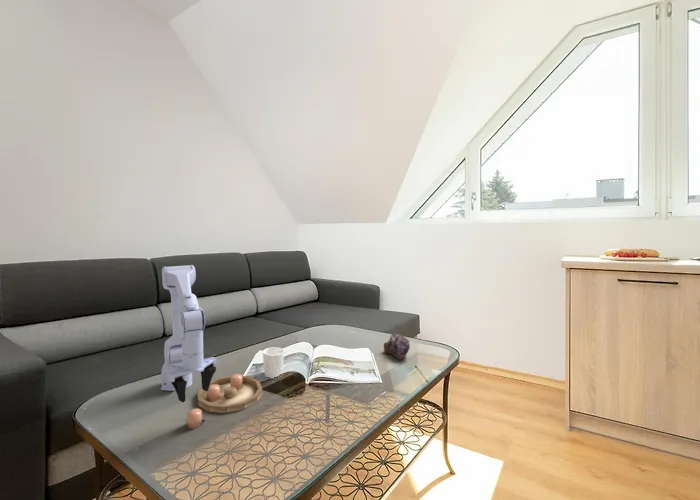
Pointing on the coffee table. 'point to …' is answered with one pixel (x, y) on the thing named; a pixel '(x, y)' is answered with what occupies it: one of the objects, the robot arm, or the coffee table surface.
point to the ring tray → (239, 397)
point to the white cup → (273, 361)
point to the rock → (397, 346)
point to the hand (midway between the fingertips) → (193, 395)
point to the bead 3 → (236, 381)
